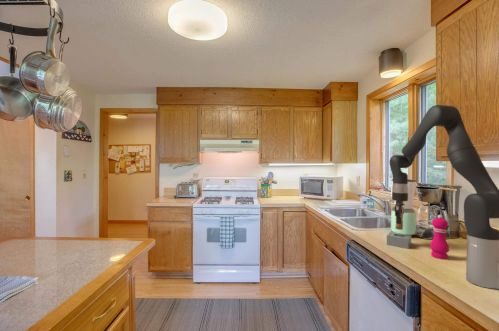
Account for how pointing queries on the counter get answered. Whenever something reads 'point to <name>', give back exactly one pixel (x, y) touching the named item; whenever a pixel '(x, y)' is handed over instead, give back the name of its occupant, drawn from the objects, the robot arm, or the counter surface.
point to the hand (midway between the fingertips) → (399, 223)
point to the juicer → (406, 212)
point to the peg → (400, 226)
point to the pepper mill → (439, 238)
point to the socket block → (399, 240)
